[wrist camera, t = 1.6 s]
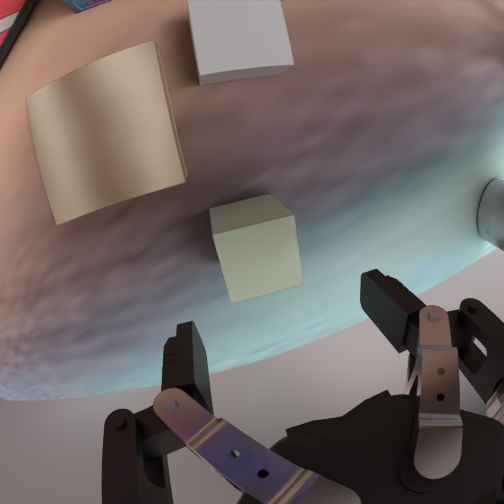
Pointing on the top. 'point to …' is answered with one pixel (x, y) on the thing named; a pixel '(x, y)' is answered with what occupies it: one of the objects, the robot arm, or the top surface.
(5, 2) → the soccer shoe
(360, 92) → the top surface
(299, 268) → the sage block
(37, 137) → the maple block
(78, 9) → the ink cartridge box
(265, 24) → the grey block
